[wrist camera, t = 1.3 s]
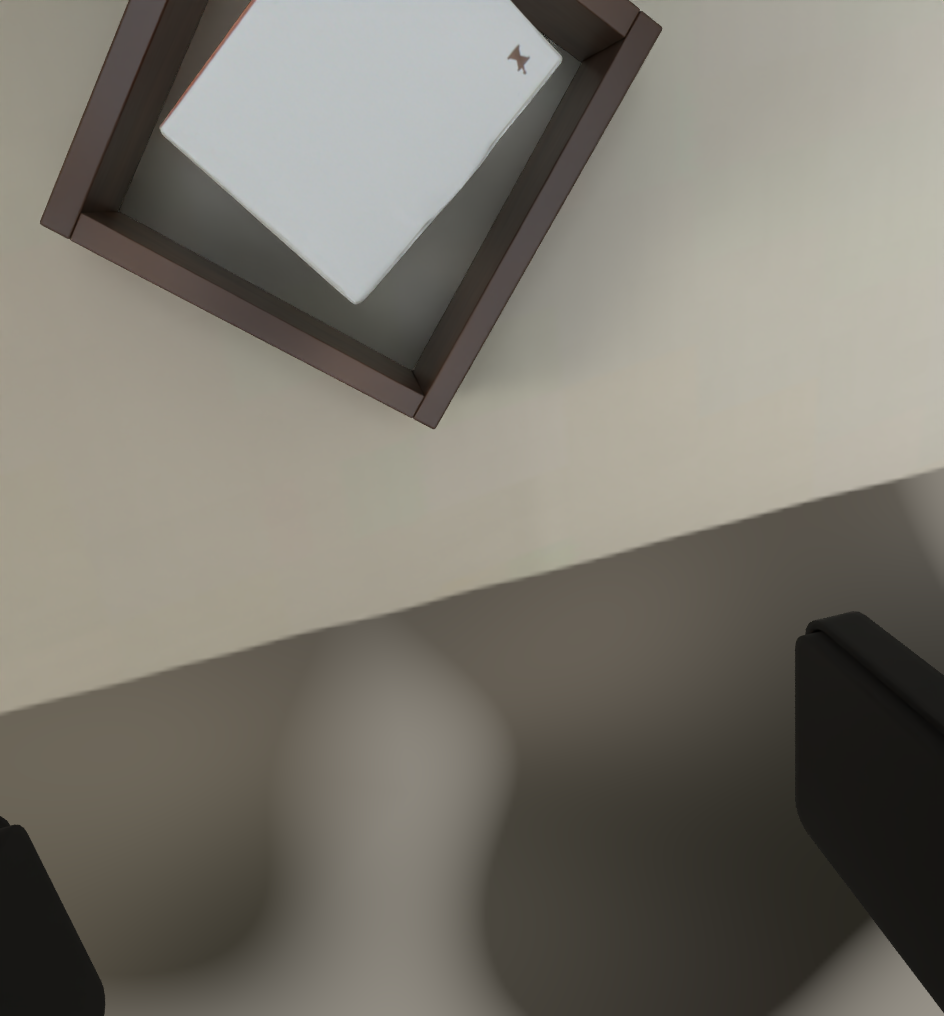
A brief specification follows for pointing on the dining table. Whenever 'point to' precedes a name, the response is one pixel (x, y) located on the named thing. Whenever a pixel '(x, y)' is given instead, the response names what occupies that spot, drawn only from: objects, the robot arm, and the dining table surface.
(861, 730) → the robot arm
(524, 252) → the wooden frame
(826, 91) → the dining table surface
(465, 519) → the dining table surface
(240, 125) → the small box
